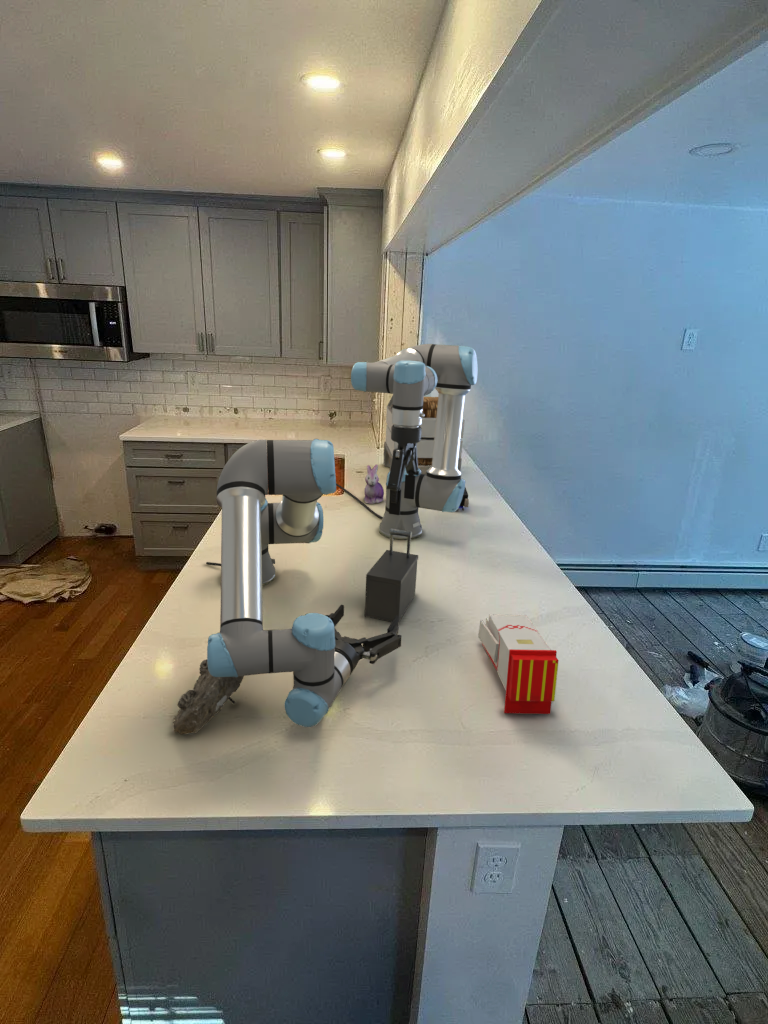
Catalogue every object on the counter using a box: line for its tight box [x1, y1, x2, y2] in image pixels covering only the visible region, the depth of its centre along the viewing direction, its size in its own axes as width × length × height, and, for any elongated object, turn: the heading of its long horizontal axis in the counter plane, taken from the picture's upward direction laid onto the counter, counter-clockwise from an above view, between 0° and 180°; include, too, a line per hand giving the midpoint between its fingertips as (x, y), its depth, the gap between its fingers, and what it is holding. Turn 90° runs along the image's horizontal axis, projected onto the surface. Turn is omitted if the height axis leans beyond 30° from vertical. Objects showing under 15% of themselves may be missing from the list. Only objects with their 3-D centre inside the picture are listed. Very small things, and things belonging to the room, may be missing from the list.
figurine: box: [363, 464, 385, 505], centre depth 230 cm, size 9×10×15 cm
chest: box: [364, 560, 418, 623], centre depth 150 cm, size 16×9×11 cm, turn 162°
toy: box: [477, 613, 560, 715], centre depth 124 cm, size 12×13×30 cm
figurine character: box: [455, 486, 470, 512], centre depth 229 cm, size 7×8×15 cm
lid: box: [365, 528, 419, 585], centre depth 147 cm, size 17×9×9 cm, turn 162°
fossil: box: [172, 658, 245, 736], centre depth 111 cm, size 22×10×15 cm
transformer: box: [383, 395, 465, 473], centre depth 268 cm, size 34×33×41 cm
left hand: (369, 615), depth 133 cm, fingers open, 13 cm apart
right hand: (402, 506), depth 148 cm, fingers open, 13 cm apart
